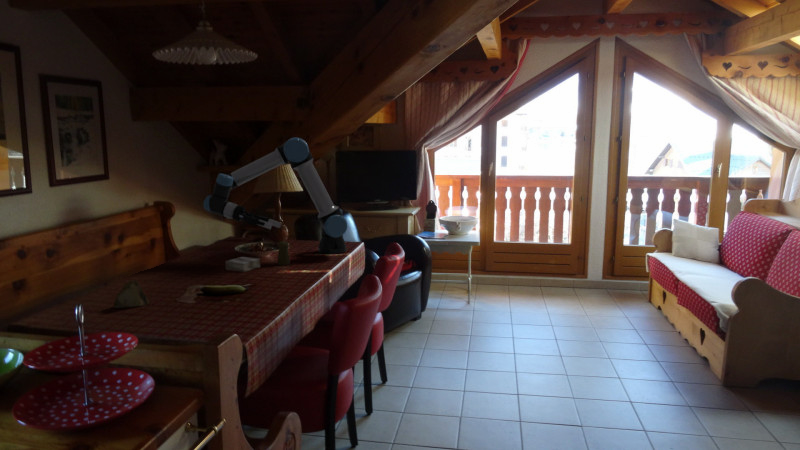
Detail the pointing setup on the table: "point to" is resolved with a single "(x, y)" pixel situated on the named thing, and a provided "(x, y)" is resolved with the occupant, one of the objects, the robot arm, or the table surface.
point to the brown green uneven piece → (211, 292)
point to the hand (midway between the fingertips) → (276, 226)
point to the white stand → (242, 264)
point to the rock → (130, 296)
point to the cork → (283, 253)
